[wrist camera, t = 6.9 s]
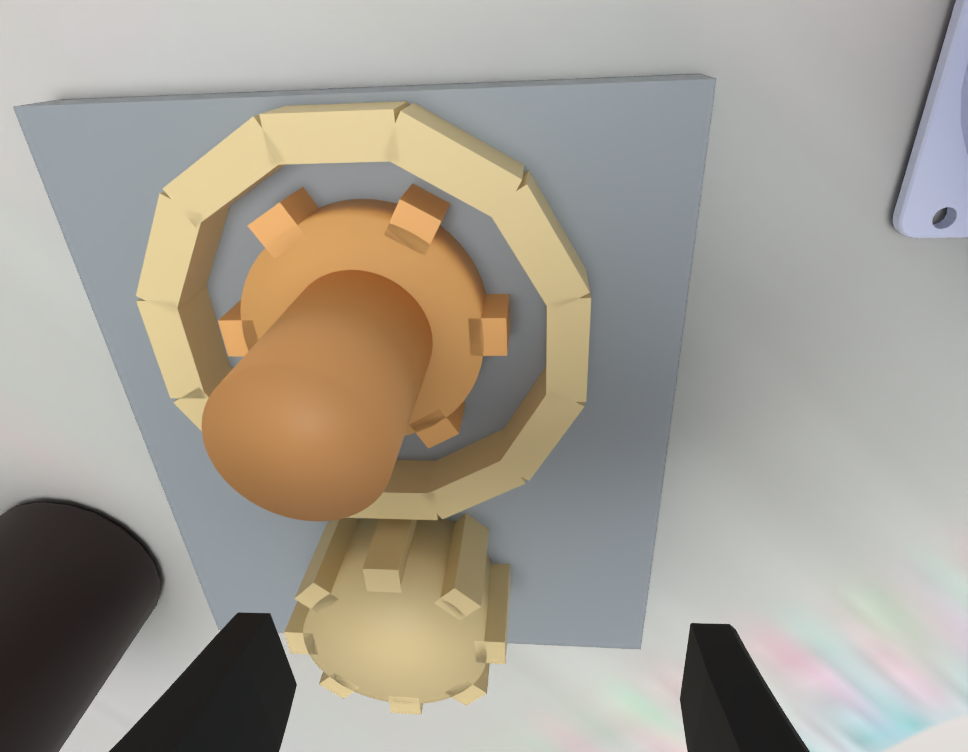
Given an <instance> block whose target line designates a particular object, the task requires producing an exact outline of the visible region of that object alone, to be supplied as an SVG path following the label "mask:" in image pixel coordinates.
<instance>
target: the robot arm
mask: <svg viewBox="0 0 968 752" xmlns="http://www.w3.org/2000/svg"><path fill="white" fill-rule="evenodd" d="M946 207H947V214H946V216H945V218H944V219H943V220H942V221H940V222H939V223H936V224H932V221H933V217H934V215H935V214H936V212H938V211H939V210H940V209H942V208H946ZM893 225H894V227H895V229H896V230H897V231H899V232H900V233H901V234H903V235H905V236H907V237H911V238H964V237H968V0H956V2H955V5H954V9H953V12H952V16H951V19H950V22H949V26H948V29H947V33H946V36H945V40H944V43H943V46H942V50H941V53H940V57H939V60H938V64H937V67H936V70H935V74H934V77H933V81H932V84H931V87H930V91H929V94H928V98H927V101H926V105H925V108H924V111H923V115H922V118H921V122H920V125H919V129H918V132H917V135H916V139H915V142H914V146H913V149H912V153H911V156H910V159H909V163H908V166H907V170H906V173H905V177H904V180H903V183H902V187H901V190H900V194H899V197H898V200H897V204H896V207H895V211H894V214H893ZM296 686H297V684H296V681H295V678H294V676H293V673H292V670H291V668H290V665H289V662H288V660H287V657H286V654H285V651H284V649H283V646H282V643H281V641H280V638H279V635H278V632H277V630H276V627H275V624H274V622H273V619H272V616H271V614H270V613H243V612H238V613H237V614H236V615H235V616H234V617H233V618H232V619H231V620H230V621H229V622H228V623H227V624H226V625H225V627H224V628H223V629H222V630H221V631H220V632H219V633H218V634H217V635H216V636H215V638H214V639H213V640H212V641H211V642H210V643H209V644H208V645H207V646H206V648H205V649H204V650H203V651H202V652H201V653H200V654H199V655H198V657H197V658H196V659H195V660H194V661H193V662H192V663H191V664H190V665H189V667H188V668H187V669H186V670H185V671H184V672H183V673H182V674H181V675H180V677H179V678H178V679H177V680H176V681H175V682H174V683H173V684H172V685H171V686H170V688H169V689H168V690H167V691H166V692H165V693H164V694H163V695H162V696H161V697H160V698H159V699H158V701H157V702H156V703H155V704H154V705H153V706H152V707H151V708H150V709H149V710H148V711H147V712H146V713H145V714H144V716H143V717H142V718H141V719H140V720H139V721H138V722H137V723H136V724H135V725H134V726H133V727H132V728H131V729H130V731H129V732H128V733H127V734H126V735H125V736H124V737H123V738H122V739H121V740H120V741H119V742H118V743H117V744H116V745H115V746H114V747H113V748H112V749H111V750H110V751H109V752H279V749H280V747H281V743H282V739H283V736H284V732H285V729H286V725H287V721H288V718H289V714H290V710H291V706H292V702H293V698H294V694H295V690H296ZM680 703H681V710H682V717H683V724H684V730H685V737H686V744H687V750H688V752H810V751H809V750H808V748H807V747H806V745H805V744H804V742H803V741H802V739H801V738H800V736H799V735H798V733H797V732H796V730H795V729H794V727H793V725H792V724H791V722H790V721H789V719H788V718H787V716H786V715H785V713H784V711H783V710H782V708H781V707H780V705H779V703H778V702H777V700H776V699H775V697H774V695H773V694H772V692H771V690H770V689H769V687H768V686H767V684H766V682H765V681H764V679H763V677H762V676H761V674H760V672H759V670H758V669H757V667H756V665H755V664H754V662H753V660H752V658H751V657H750V655H749V653H748V651H747V650H746V648H745V646H744V644H743V642H742V641H741V639H740V637H739V635H738V633H737V631H736V629H735V628H733V627H732V626H731V625H730V624H700V623H691V624H690V631H689V639H688V646H687V653H686V660H685V667H684V674H683V681H682V689H681V696H680Z"/></svg>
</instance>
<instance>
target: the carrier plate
mask: <svg viewBox="0 0 968 752" xmlns="http://www.w3.org/2000/svg"><path fill="white" fill-rule="evenodd" d="M715 84H716V79H715V78H712V77H709V76H706V75H702V74H684V75H659V76H634V77H610V78H585V79H560V80H536V81H511V82H486V83H462V84H437V85H412V86H387V87H363V88H338V89H313V90H289V91H264V92H239V93H214V94H190V95H165V96H140V97H116V98H91V99H66V100H53V101H47V102H40V103H34V104H27V105H21V106H14V107H13V108H14V111H15V113H16V116H17V118H18V121H19V123H20V126H21V128H22V131H23V133H24V136H25V139H26V141H27V144H28V146H29V149H30V151H31V154H32V156H33V159H34V161H35V164H36V167H37V169H38V172H39V174H40V177H41V179H42V182H43V184H44V187H45V189H46V192H47V195H48V197H49V200H50V202H51V205H52V207H53V210H54V212H55V215H56V217H57V220H58V223H59V225H60V228H61V230H62V233H63V235H64V238H65V240H66V243H67V245H68V248H69V251H70V253H71V256H72V258H73V261H74V263H75V266H76V268H77V271H78V273H79V276H80V279H81V281H82V284H83V286H84V289H85V291H86V294H87V296H88V299H89V301H90V304H91V306H92V309H93V312H94V314H95V317H96V319H97V322H98V324H99V327H100V329H101V332H102V334H103V337H104V340H105V342H106V345H107V347H108V350H109V352H110V355H111V357H112V360H113V362H114V365H115V368H116V370H117V373H118V375H119V378H120V380H121V383H122V385H123V388H124V390H125V393H126V396H127V398H128V401H129V403H130V406H131V408H132V411H133V413H134V416H135V418H136V421H137V424H138V426H139V429H140V431H141V434H142V436H143V439H144V441H145V444H146V446H147V449H148V452H149V454H150V457H151V459H152V462H153V464H154V467H155V469H156V472H157V474H158V477H159V480H160V482H161V485H162V487H163V490H164V492H165V495H166V497H167V500H168V502H169V505H170V507H171V510H172V513H173V515H174V518H175V520H176V523H177V525H178V528H179V530H180V533H181V535H182V538H183V541H184V543H185V546H186V548H187V551H188V553H189V556H190V558H191V561H192V563H193V566H194V569H195V571H196V574H197V576H198V579H199V581H200V584H201V586H202V589H203V591H204V594H205V597H206V599H207V602H208V604H209V607H210V609H211V612H212V614H213V617H214V619H215V622H216V625H217V627H218V630H222V629H223V628H224V627H225V625H226V624H227V623H228V622H229V621H230V620H231V619H232V618H233V617H234V616H235V615H236V614H237V613H238V612H243V613H270V614H271V616H272V619H273V622H274V624H275V627H276V630H277V632H281V633H285V637H286V640H287V643H288V646H289V649H290V652H291V653H296V654H310V656H311V658H312V659H313V661H314V662H315V663H316V664H317V666H318V667H319V668H320V669H321V670H322V671H323V674H322V677H321V680H320V683H319V685H321V686H323V687H325V688H326V689H328V690H330V691H331V692H333V693H335V694H337V695H338V696H340V697H342V698H343V699H344V698H345V697H347V696H348V695H350V694H351V693H353V692H357V693H359V694H362V695H365V696H368V697H370V698H374V699H378V700H382V701H388V702H389V704H390V709H391V713H405V714H421V713H422V707H423V703H430V702H436V701H440V700H444V699H448V698H450V697H453V698H454V699H456V700H458V701H459V702H461V703H462V704H464V705H468V704H469V703H471V702H473V701H475V700H476V699H478V698H480V697H482V696H483V695H485V694H487V686H488V674H489V663H495V664H506V649H507V643H515V644H536V645H558V646H579V647H600V648H622V649H641V643H642V635H643V628H644V620H645V613H646V605H647V598H648V590H649V583H650V575H651V567H652V560H653V552H654V545H655V537H656V530H657V522H658V515H659V507H660V499H661V492H662V484H663V477H664V469H665V462H666V454H667V447H668V439H669V432H670V424H671V416H672V409H673V401H674V394H675V386H676V379H677V371H678V364H679V356H680V349H681V341H682V333H683V326H684V318H685V311H686V303H687V296H688V288H689V281H690V273H691V266H692V258H693V250H694V243H695V235H696V228H697V220H698V213H699V205H700V198H701V190H702V182H703V175H704V167H705V160H706V152H707V145H708V137H709V130H710V122H711V115H712V107H713V99H714V92H715ZM412 184H415V185H417V186H419V187H421V188H422V189H424V190H426V191H428V192H430V193H432V194H434V195H435V196H437V197H439V198H441V199H443V200H445V201H447V202H449V203H450V206H449V208H448V210H447V212H446V214H445V216H444V218H443V220H442V222H441V224H440V226H442V227H443V228H444V229H445V230H447V231H448V232H449V233H450V234H451V235H452V236H453V237H454V238H455V239H456V240H457V241H458V242H459V243H460V244H461V245H462V247H463V248H464V249H465V251H466V252H467V253H468V255H469V256H470V258H471V259H472V261H473V263H474V265H475V266H476V268H477V270H478V272H479V274H480V277H481V279H482V282H483V284H484V288H485V292H486V294H509V301H510V337H509V346H508V355H507V356H483V359H482V364H481V368H480V371H479V374H478V377H477V380H476V382H475V384H474V386H473V388H472V390H471V391H470V393H469V394H468V396H467V397H466V398H465V400H464V402H465V408H464V412H463V417H462V422H461V427H460V432H459V434H458V435H455V436H453V437H451V438H449V439H447V440H445V441H443V442H441V443H439V444H437V445H435V446H433V447H431V448H429V449H428V447H427V446H426V445H425V444H424V443H423V441H422V440H421V439H420V438H419V436H418V435H417V434H416V433H413V434H409V435H406V436H404V439H403V442H402V445H401V448H400V451H399V454H398V457H397V460H396V462H395V465H394V468H393V471H392V474H391V477H390V480H389V482H388V484H387V487H386V488H385V490H384V491H383V493H382V494H381V496H380V497H379V498H378V499H377V500H376V501H375V502H374V503H373V504H371V505H370V506H369V507H367V508H366V509H364V510H363V511H361V512H359V513H357V514H354V515H352V516H349V517H346V518H342V519H338V520H332V521H303V520H297V519H292V518H288V517H284V516H281V515H278V514H275V513H273V512H270V511H268V510H266V509H264V508H261V507H259V506H257V505H256V504H254V503H252V502H251V501H249V500H247V499H246V498H245V497H243V496H242V495H241V494H239V493H238V492H237V491H236V490H235V489H233V488H232V487H231V486H230V485H229V484H228V483H227V482H226V481H225V480H224V478H223V477H222V476H221V475H220V474H219V472H218V471H217V470H216V468H215V467H214V465H213V463H212V461H211V460H210V458H209V456H208V453H207V451H206V448H205V445H204V441H203V437H202V428H201V426H202V415H203V411H204V407H205V405H206V402H207V400H208V398H209V397H210V395H211V393H212V392H213V390H214V389H215V388H216V387H217V386H218V385H219V384H220V383H221V382H222V380H223V379H224V378H225V377H226V376H227V375H228V374H229V373H230V372H231V370H232V369H233V368H234V367H235V366H236V365H237V364H238V363H239V362H240V360H241V359H242V358H243V357H244V356H228V354H227V350H226V347H225V344H224V340H223V337H222V333H221V330H220V326H219V323H218V320H219V319H220V318H221V317H222V316H223V315H224V314H226V313H227V312H228V311H229V310H230V309H231V308H232V307H233V306H234V305H235V304H237V303H238V302H239V301H240V300H241V297H242V292H243V288H244V284H245V280H246V278H247V276H248V273H249V271H250V268H251V267H252V265H253V264H254V262H255V260H256V259H257V257H258V256H259V255H260V253H261V252H262V251H263V250H264V249H265V247H264V246H263V244H262V243H261V242H260V241H259V240H258V238H257V237H256V236H255V235H254V233H253V232H252V231H251V230H250V228H249V227H248V225H249V224H250V223H252V222H253V221H255V220H256V219H257V218H259V217H260V216H262V215H263V214H264V213H266V212H267V211H268V210H270V209H271V208H273V207H274V206H275V205H277V204H278V203H279V202H281V201H282V200H284V199H285V198H287V197H288V196H290V195H291V194H293V193H294V192H296V191H297V190H299V189H300V188H302V187H304V189H305V190H306V191H307V193H308V194H309V195H310V197H311V198H312V199H313V201H314V202H315V203H316V205H317V206H318V207H319V208H320V207H322V206H325V205H327V204H330V203H334V202H339V201H343V200H351V199H376V200H382V201H388V202H393V203H396V204H398V202H399V200H400V198H401V197H402V196H403V194H404V193H405V192H406V191H407V190H408V188H409V187H410V186H411V185H412Z"/></svg>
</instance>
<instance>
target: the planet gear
mask: <svg viewBox="0 0 968 752" xmlns="http://www.w3.org/2000/svg"><path fill="white" fill-rule="evenodd" d="M449 206H450V203H449V202H447V201H445V200H443V199H441V198H439V197H437V196H435V195H434V194H432V193H430V192H428V191H426V190H424V189H422V188H421V187H419V186H417V185H415V184H412V185H411V186H410V187H409V188H408V190H407V191H406V192H405V193H404V194H403V196H402V197H401V198H400V200H399V202H398V204H396V203H393V202H388V201H382V200H376V199H351V200H343V201H339V202H334V203H330V204H327V205H325V206H322V207H320V208H319V207H318V206H317V205H316V203H315V202H314V201H313V199H312V198H311V197H310V195H309V194H308V193H307V191H306V190H305V189H304V187H302V188H300V189H299V190H297V191H296V192H294V193H293V194H291V195H290V196H288V197H287V198H285V199H284V200H282V201H281V202H279V203H278V204H277V205H275V206H274V207H273V208H271V209H270V210H268V211H267V212H266V213H264V214H263V215H262V216H260V217H259V218H257V219H256V220H255V221H253V222H252V223H250V224H249V225H248V227H249V228H250V230H251V231H252V232H253V233H254V235H255V236H256V237H257V238H258V240H259V241H260V242H261V243H262V244H263V246H264V247H265V249H264V250H263V251H262V252H261V253H260V255H259V256H258V257H257V259H256V260H255V262H254V264H253V265H252V267H251V268H250V271H249V273H248V276H247V278H246V280H245V284H244V288H243V292H242V297H241V300H240V301H239V302H238V303H237V304H235V305H234V306H233V307H232V308H231V309H230V310H229V311H228V312H227V313H226V314H224V315H223V316H222V317H221V318H220V319H219V320H218V323H219V326H220V330H221V333H222V337H223V340H224V344H225V347H226V350H227V354H228V356H244V357H243V358H242V359H241V360H240V362H239V363H238V364H237V365H236V366H235V367H234V368H233V369H232V370H231V372H230V373H229V374H228V375H227V376H226V377H225V378H224V379H223V380H222V382H221V383H220V384H219V385H218V386H217V387H216V388H215V389H214V390H213V392H212V393H211V395H210V397H209V398H208V400H207V402H206V405H205V407H204V411H203V415H202V426H201V428H202V437H203V441H204V445H205V448H206V451H207V453H208V456H209V458H210V460H211V461H212V463H213V465H214V467H215V468H216V470H217V471H218V472H219V474H220V475H221V476H222V477H223V478H224V480H225V481H226V482H227V483H228V484H229V485H230V486H231V487H232V488H233V489H235V490H236V491H237V492H238V493H239V494H241V495H242V496H243V497H245V498H246V499H247V500H249V501H251V502H252V503H254V504H256V505H257V506H259V507H261V508H264V509H266V510H268V511H270V512H273V513H275V514H278V515H281V516H284V517H288V518H292V519H297V520H303V521H332V520H338V519H342V518H346V517H349V516H352V515H354V514H357V513H359V512H361V511H363V510H364V509H366V508H367V507H369V506H370V505H371V504H373V503H374V502H375V501H376V500H377V499H378V498H379V497H380V496H381V494H382V493H383V491H384V490H385V488H386V487H387V484H388V482H389V480H390V477H391V474H392V471H393V468H394V465H395V462H396V460H397V457H398V454H399V451H400V448H401V445H402V442H403V439H404V436H406V435H409V434H413V433H416V434H417V435H418V436H419V438H420V439H421V440H422V441H423V443H424V444H425V445H426V446H427V447H428V449H429V448H431V447H433V446H435V445H437V444H439V443H441V442H443V441H445V440H447V439H449V438H451V437H453V436H455V435H458V434H459V432H460V427H461V422H462V417H463V412H464V408H465V402H464V400H465V398H466V397H467V396H468V394H469V393H470V391H471V390H472V388H473V386H474V384H475V382H476V380H477V377H478V374H479V371H480V368H481V364H482V359H483V356H507V355H508V346H509V337H510V301H509V294H486V292H485V288H484V284H483V282H482V279H481V277H480V274H479V272H478V270H477V268H476V266H475V265H474V263H473V261H472V259H471V258H470V256H469V255H468V253H467V252H466V251H465V249H464V248H463V247H462V245H461V244H460V243H459V242H458V241H457V240H456V239H455V238H454V237H453V236H452V235H451V234H450V233H449V232H448V231H447V230H445V229H444V228H443V227H442V226H440V224H441V222H442V220H443V218H444V216H445V214H446V212H447V210H448V208H449Z"/></svg>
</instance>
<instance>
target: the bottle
mask: <svg viewBox="0 0 968 752" xmlns="http://www.w3.org/2000/svg"><path fill="white" fill-rule="evenodd" d="M160 585H161V583H160V580H159V576H158V573H157V570H156V566H155V564H154V562H153V561H152V559H151V558H150V556H149V555H148V554H147V552H146V551H145V549H144V548H143V547H142V545H141V544H140V543H139V542H138V541H137V540H135V539H134V538H133V537H132V536H131V535H130V534H128V533H127V532H126V531H125V530H124V529H123V528H121V527H120V526H118V525H116V524H114V523H113V522H111V521H109V520H107V519H105V518H104V517H102V516H100V515H98V514H96V513H93V512H90V511H87V510H84V509H81V508H78V507H75V506H72V505H64V504H55V503H45V502H38V503H32V504H26V505H20V506H16V507H14V508H12V509H10V510H9V511H7V512H6V513H4V514H2V515H1V516H0V752H59V750H60V749H61V747H62V746H63V744H64V743H65V741H66V740H67V738H68V737H69V735H70V734H71V732H72V731H73V729H74V728H75V726H76V725H77V723H78V722H79V720H80V719H81V717H82V716H83V714H84V713H85V711H86V710H87V708H88V707H89V705H90V704H91V702H92V701H93V699H94V698H95V696H96V695H97V693H98V692H99V690H100V689H101V687H102V686H103V684H104V683H105V681H106V680H107V678H108V677H109V675H110V674H111V672H112V671H113V669H114V668H115V666H116V665H117V663H118V662H119V660H120V659H121V657H122V656H123V654H124V653H125V651H126V650H127V648H128V647H129V645H130V644H131V642H132V641H133V639H134V638H135V636H136V635H137V633H138V632H139V630H140V629H141V627H142V626H143V624H144V623H145V621H146V620H147V618H148V617H149V615H150V614H151V612H152V611H153V609H154V608H155V606H156V605H157V602H158V598H159V591H160Z"/></svg>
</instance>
